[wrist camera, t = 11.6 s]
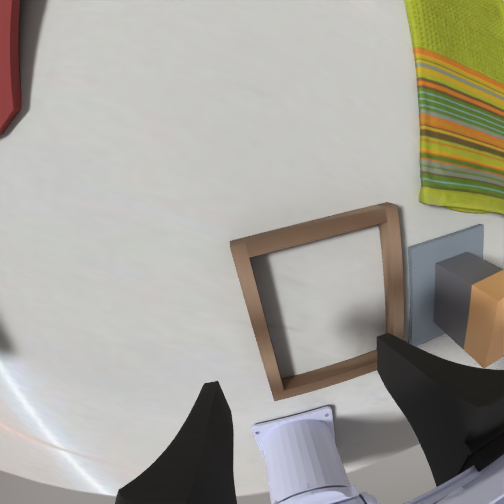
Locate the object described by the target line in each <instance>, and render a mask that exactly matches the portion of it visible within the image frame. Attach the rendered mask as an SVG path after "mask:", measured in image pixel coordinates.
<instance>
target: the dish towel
mask: <svg viewBox="0 0 504 504" xmlns="http://www.w3.org/2000/svg"><path fill="white" fill-rule="evenodd" d="M405 4H406V10H407V16H408V22H409V27H410V32H411V39H412V46H413V52H414V58H415V65H416V75H417V87H418V102H419V119H420V177H421V184H422V185H421V190H420V194H419V202H421V203H424V204H427V205H435V206H444V207H447V208H449V209H452V210H456V211H462V212H471V213H490V212H496V213H501V214H503V215H504V2H503V0H405Z"/></svg>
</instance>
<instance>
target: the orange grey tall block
mask: <svg viewBox="0 0 504 504" xmlns="http://www.w3.org/2000/svg"><path fill="white" fill-rule="evenodd" d="M433 322H434V323H435V324H436V325H437V326H438V327H440V328H441V329H442V330H443V331H444V332H445V333H446V334H447V335H448V336H450V337H451V338H452V339H453V340H454V341H455V342H456V343H457V344H458V345H459V346H460V347H462V348H463V349H464V350H465V351H466V352H467V353H468V354H469V355H470V356H471V357H472V358H473V359H474V360H475V361H476V362H478V363H479V364H480V365H481V366H482V367H483V368H486V367H487V366H489V365H490V364H492V363H493V362H495V361H496V360H498V359H499V358H501V357H502V356H504V270H503V269H501V268H499V267H497V266H495V265H493V264H491V263H489V262H487V261H485V260H483V259H481V258H479V257H477V256H475V255H473V254H471V253H469V252H464V253H462V254H459V255H456V256H453V257H451V258H448V259H445V260H442V261H440V262H437V263H435V302H434V319H433Z"/></svg>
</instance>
